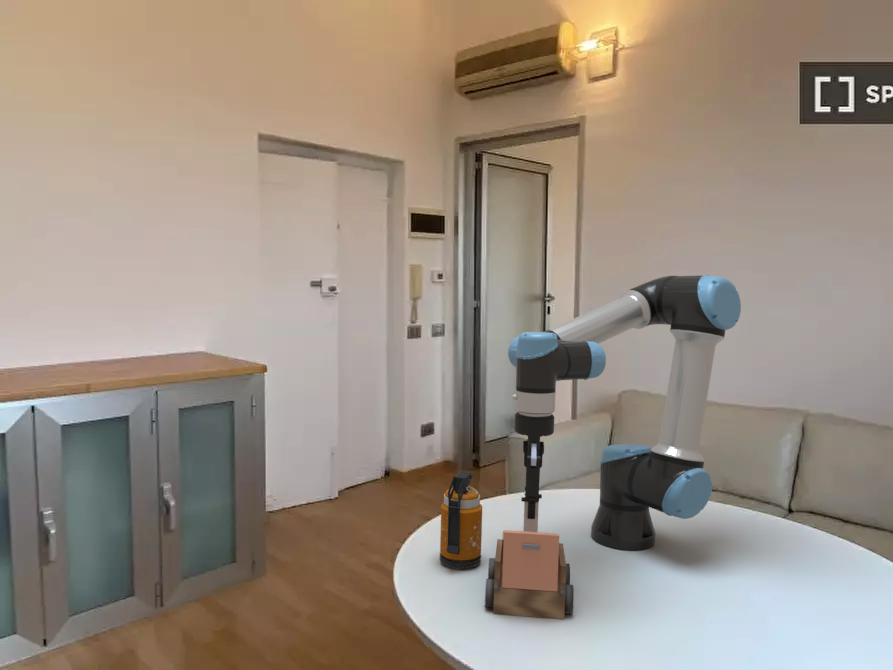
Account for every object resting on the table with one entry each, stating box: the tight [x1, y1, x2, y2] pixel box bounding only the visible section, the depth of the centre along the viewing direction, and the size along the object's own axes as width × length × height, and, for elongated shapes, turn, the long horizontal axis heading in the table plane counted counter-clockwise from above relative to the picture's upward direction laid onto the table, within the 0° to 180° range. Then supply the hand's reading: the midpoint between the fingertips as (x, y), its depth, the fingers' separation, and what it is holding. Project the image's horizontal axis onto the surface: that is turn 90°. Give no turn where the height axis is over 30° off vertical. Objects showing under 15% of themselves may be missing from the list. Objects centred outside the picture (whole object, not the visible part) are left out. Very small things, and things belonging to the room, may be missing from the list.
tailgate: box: [502, 529, 560, 592], centre depth 123 cm, size 10×2×10 cm, turn 83°
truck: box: [484, 530, 575, 620], centre depth 132 cm, size 16×17×10 cm
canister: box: [439, 470, 483, 570], centre depth 146 cm, size 9×11×20 cm
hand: (530, 532), depth 131 cm, fingers closed
